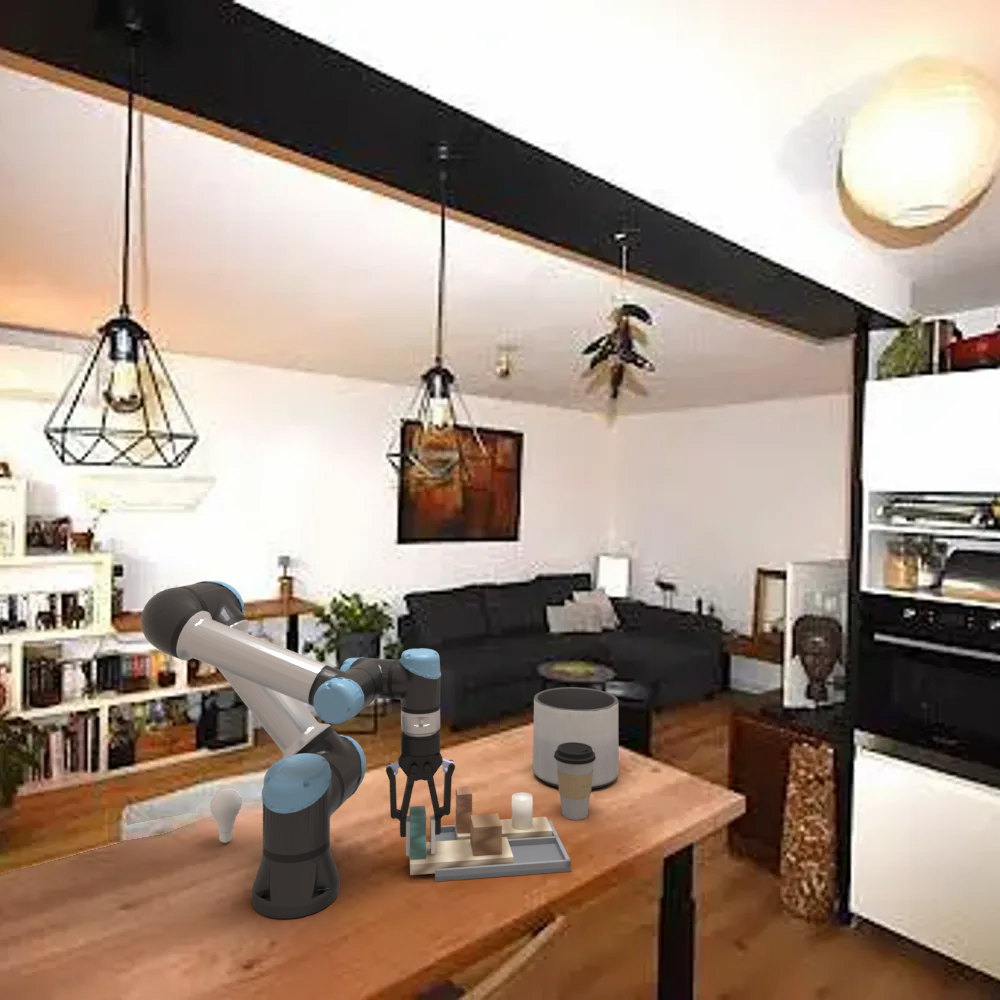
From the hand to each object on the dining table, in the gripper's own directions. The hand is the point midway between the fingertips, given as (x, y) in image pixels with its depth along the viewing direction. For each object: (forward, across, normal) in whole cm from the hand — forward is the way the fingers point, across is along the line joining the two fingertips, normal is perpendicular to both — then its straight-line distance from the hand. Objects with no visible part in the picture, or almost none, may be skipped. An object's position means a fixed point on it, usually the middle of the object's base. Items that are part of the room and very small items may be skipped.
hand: (420, 851), depth 137 cm
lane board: (+3, +16, +4) cm, 16 cm away
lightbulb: (+3, -39, +16) cm, 43 cm away
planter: (+4, +42, +41) cm, 58 cm away
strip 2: (+2, +18, +9) cm, 20 cm away
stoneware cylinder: (0, +22, +9) cm, 23 cm away
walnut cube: (0, +13, 0) cm, 13 cm away
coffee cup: (+4, +36, +19) cm, 40 cm away
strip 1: (+3, +8, 0) cm, 8 cm away
